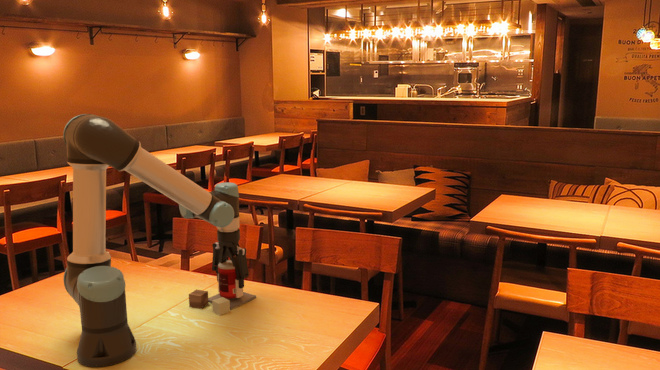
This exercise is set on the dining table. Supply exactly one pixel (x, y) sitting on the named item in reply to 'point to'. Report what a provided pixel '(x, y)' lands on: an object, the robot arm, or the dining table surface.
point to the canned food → (227, 280)
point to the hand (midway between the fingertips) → (230, 293)
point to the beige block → (221, 306)
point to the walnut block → (198, 299)
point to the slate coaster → (235, 299)
